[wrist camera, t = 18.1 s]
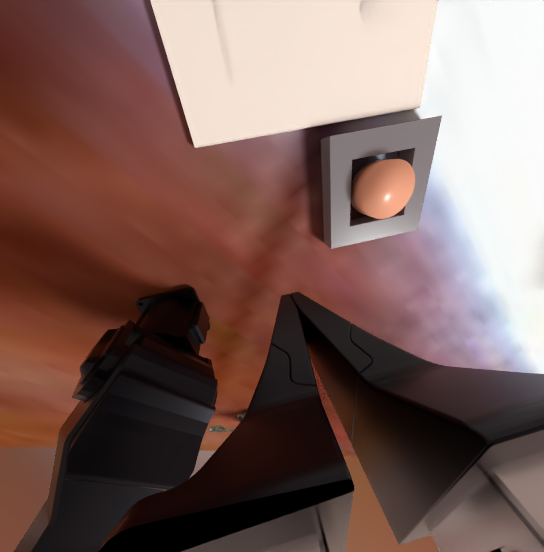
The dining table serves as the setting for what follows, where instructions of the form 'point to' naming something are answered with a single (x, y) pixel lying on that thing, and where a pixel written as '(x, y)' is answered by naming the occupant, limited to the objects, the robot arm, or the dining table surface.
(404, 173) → the button
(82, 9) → the dining table surface
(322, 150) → the button housing
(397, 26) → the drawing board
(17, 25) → the dining table surface
